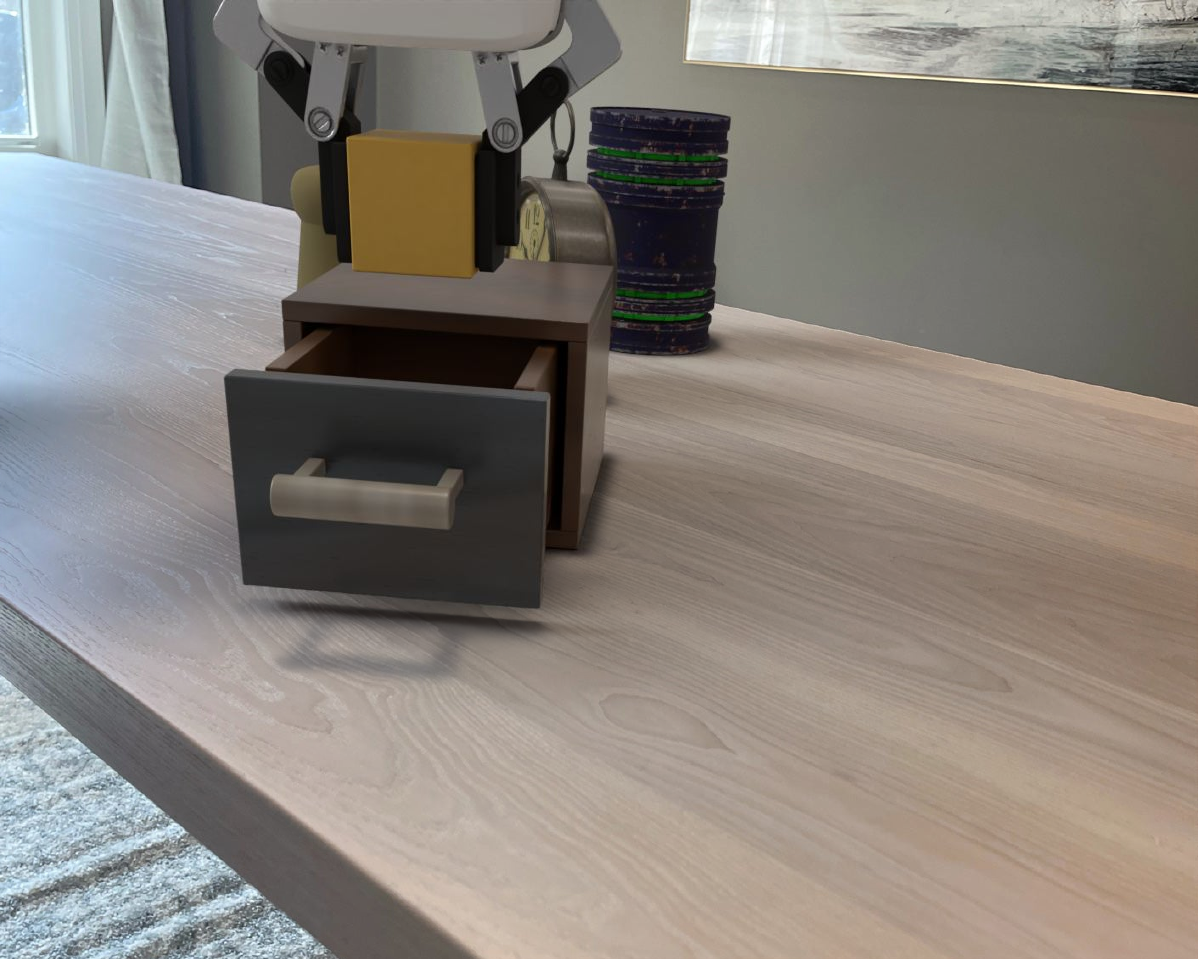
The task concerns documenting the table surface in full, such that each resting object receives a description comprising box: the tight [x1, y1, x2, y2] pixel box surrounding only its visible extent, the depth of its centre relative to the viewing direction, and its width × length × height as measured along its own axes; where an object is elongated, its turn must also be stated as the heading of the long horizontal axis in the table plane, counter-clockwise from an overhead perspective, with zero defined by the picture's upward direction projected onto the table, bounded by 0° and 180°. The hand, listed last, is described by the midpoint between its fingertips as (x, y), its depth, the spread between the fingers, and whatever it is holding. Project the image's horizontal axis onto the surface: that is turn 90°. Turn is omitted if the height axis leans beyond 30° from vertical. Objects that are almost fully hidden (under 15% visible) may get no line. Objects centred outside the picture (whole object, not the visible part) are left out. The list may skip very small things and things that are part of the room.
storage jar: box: [586, 105, 732, 356], centre depth 92 cm, size 10×10×15 cm
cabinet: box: [280, 258, 614, 550], centre depth 61 cm, size 15×13×10 cm
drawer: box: [223, 323, 566, 610], centre depth 51 cm, size 18×11×8 cm, turn 175°
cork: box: [289, 164, 341, 291], centre depth 87 cm, size 6×6×11 cm
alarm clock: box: [504, 98, 617, 320], centre depth 78 cm, size 11×5×16 cm, turn 21°
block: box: [346, 128, 482, 279], centre depth 48 cm, size 4×4×4 cm
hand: (423, 257), depth 49 cm, fingers closed on block, 4 cm apart
